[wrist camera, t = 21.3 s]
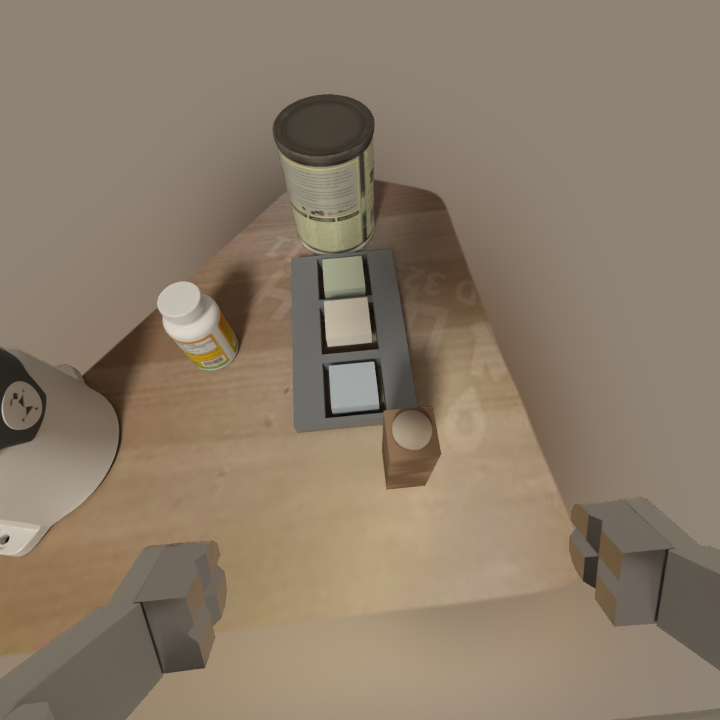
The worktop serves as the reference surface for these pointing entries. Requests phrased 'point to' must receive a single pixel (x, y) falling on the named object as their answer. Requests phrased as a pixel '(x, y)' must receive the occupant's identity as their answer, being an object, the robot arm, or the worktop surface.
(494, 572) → the worktop surface
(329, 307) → the key mid
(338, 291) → the key
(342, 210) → the coffee can
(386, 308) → the keypad
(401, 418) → the wooden pepper mill
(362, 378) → the key
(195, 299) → the supplement bottle
